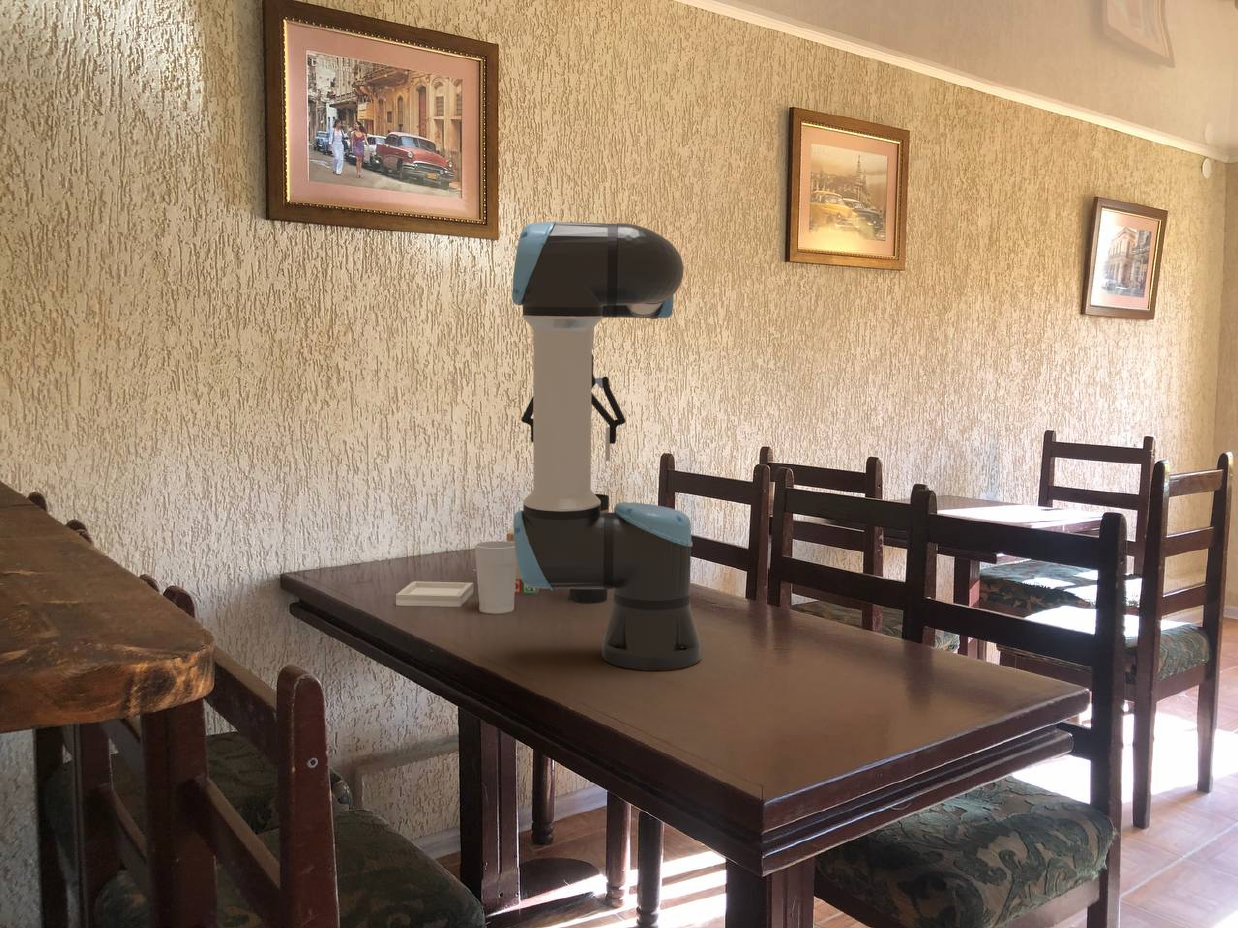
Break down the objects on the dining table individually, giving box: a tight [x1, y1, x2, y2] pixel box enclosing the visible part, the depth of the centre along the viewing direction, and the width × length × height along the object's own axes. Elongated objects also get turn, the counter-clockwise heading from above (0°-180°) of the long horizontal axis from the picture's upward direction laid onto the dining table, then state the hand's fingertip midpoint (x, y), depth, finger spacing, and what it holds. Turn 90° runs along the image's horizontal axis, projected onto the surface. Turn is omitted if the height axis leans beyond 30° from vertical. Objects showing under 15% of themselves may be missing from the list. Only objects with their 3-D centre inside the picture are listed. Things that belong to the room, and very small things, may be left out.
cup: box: [474, 540, 517, 614], centre depth 180 cm, size 8×8×12 cm
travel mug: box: [569, 493, 610, 604], centre depth 188 cm, size 8×8×20 cm
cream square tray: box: [395, 580, 474, 608], centre depth 188 cm, size 12×12×2 cm
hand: (573, 460), depth 194 cm, fingers open, 13 cm apart
